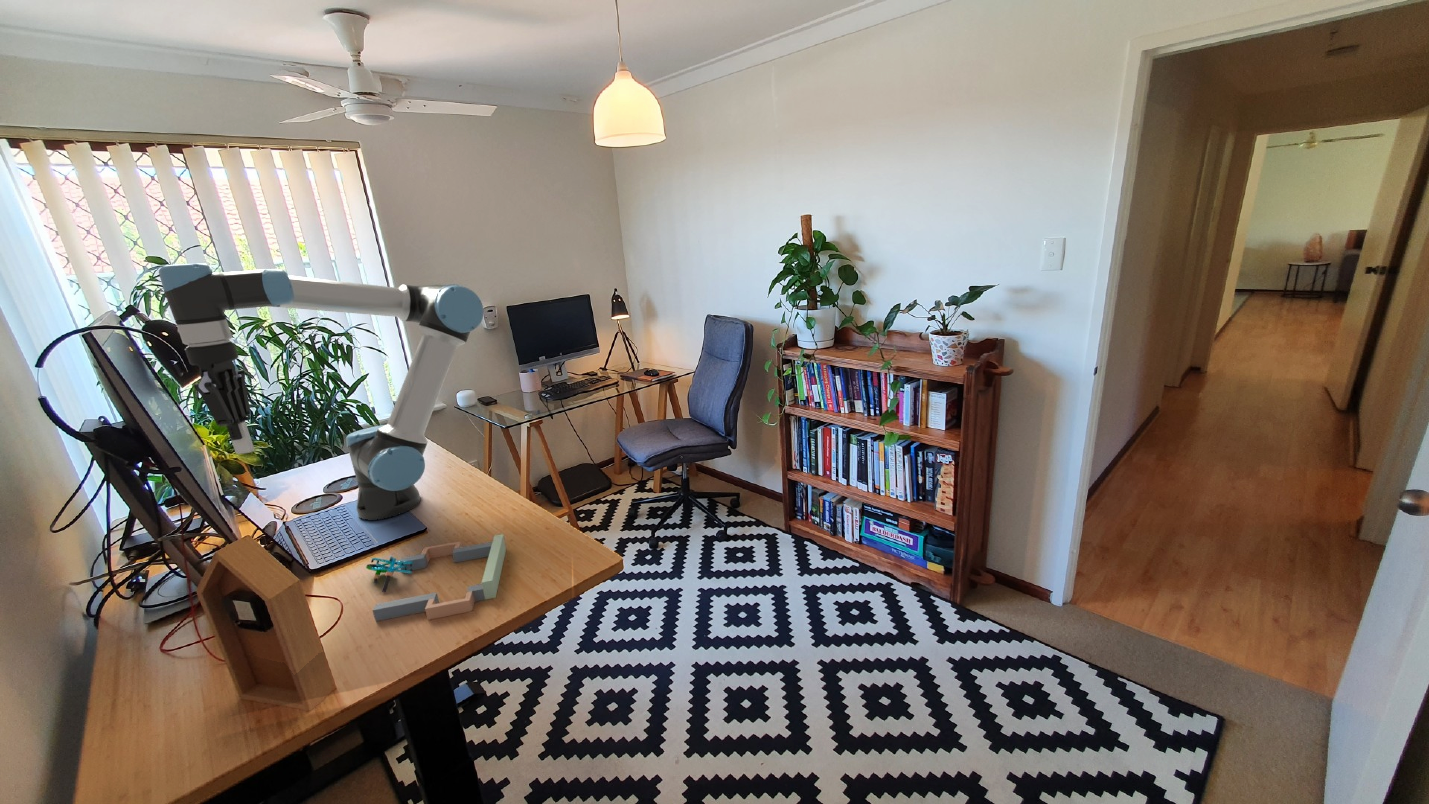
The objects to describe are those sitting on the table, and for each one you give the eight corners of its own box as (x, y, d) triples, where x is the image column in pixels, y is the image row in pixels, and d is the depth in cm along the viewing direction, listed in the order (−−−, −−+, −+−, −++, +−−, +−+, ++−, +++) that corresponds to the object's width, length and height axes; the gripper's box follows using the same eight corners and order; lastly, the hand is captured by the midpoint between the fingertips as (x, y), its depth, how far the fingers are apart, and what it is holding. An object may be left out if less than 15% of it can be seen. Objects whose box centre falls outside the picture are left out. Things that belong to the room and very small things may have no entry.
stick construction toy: (422, 560, 118) (388, 551, 112) (412, 593, 114) (376, 585, 108) (390, 567, 123) (355, 559, 118) (379, 599, 120) (344, 592, 114)
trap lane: (407, 560, 125) (403, 545, 124) (507, 542, 130) (504, 527, 129) (370, 631, 102) (365, 613, 101) (493, 606, 107) (490, 589, 106)
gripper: (207, 339, 114) (242, 444, 121) (163, 350, 102) (205, 466, 109) (248, 336, 116) (280, 439, 122) (210, 346, 103) (248, 460, 110)
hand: (245, 452), depth 115 cm, fingers closed
